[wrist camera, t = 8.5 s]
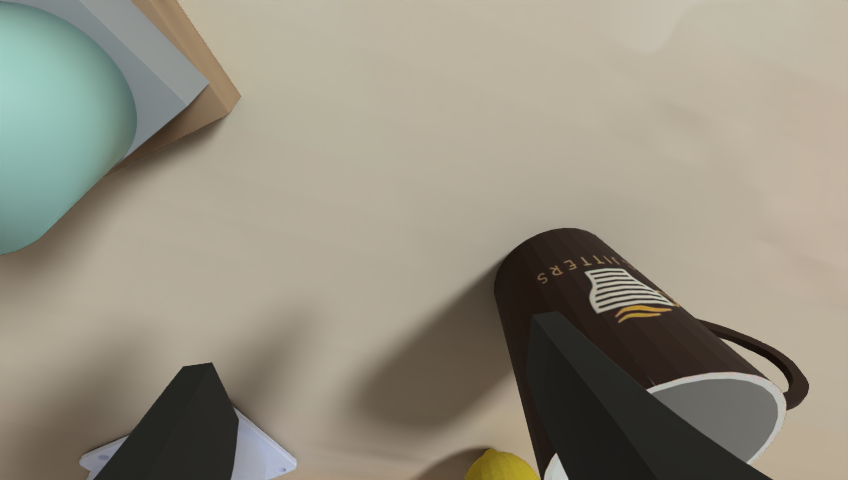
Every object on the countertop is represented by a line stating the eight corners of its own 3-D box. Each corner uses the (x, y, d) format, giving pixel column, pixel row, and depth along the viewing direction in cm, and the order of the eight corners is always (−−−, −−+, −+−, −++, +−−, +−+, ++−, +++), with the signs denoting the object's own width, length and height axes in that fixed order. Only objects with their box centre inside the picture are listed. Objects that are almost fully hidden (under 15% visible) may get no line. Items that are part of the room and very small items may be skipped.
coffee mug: (444, 315, 24) (496, 509, 16) (533, 182, 20) (663, 344, 12) (602, 361, 28) (709, 533, 20) (700, 258, 25) (881, 416, 16)
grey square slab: (103, 171, 15) (66, 207, 13) (-62, 41, 13) (-142, 61, 10) (209, 82, 14) (187, 105, 12) (54, -79, 12) (-8, -84, 9)
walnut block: (110, 160, 17) (79, 188, 15) (-38, 2, 14) (-103, 11, 12) (243, 92, 17) (229, 113, 15) (121, -90, 14) (81, -95, 11)
